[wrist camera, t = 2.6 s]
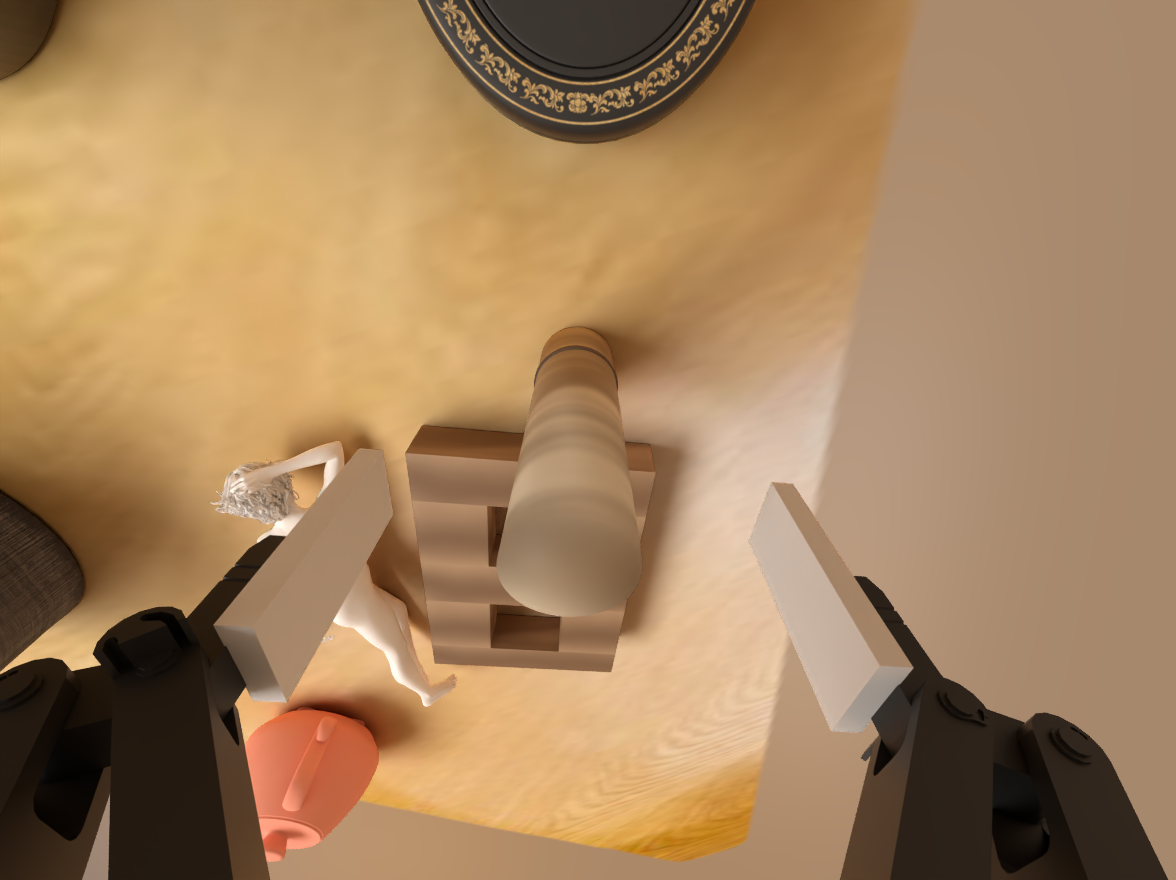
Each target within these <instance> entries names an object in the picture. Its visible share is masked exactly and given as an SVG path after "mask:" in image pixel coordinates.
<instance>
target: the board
mask: <svg viewBox="0 0 1176 880" xmlns="http://www.w3.org/2000/svg"><path fill="white" fill-rule="evenodd" d="M523 437H524V434H520V433H507V432H495V431H483V430H470V429H458V428H446V427H433V426H421V428H420V430H419V431H418V433H417V435H416V436H415V438H414V439H413V441H412V443H411V444H410V446H409V448H408V449H407V451H406V453H405V455H406V462H407V469H408V476H409V484H410V491H411V498H412V505H413V512H414V519H415V526H416V533H417V541H418V548H419V555H420V562H421V569H422V576H423V583H424V590H425V598H426V605H427V612H428V619H429V626H430V633H431V640H432V647H433V655H434V662H435V663H436V664H456V665H476V666H497V667H517V668H537V669H557V670H578V671H598V672H611V670H612V666H613V661H614V657H615V653H616V648H617V644H618V639H619V635H620V630H621V626H622V621H623V617H624V613H625V608H626V604H627V599H628V598H626V599H625V600H624V601H623V602H621V603H620V604H618V605H616V606H615V607H613V608H610V609H608V610H606V611H603V612H600V613H596V614H592V615H587V616H578V617H562V616H560V618H553V617H536V616H518V615H500V614H497V604H498V605H515V606H524V605H523V604H521V603H519V602H518V601H516V600H515V599H514V598H513V597H512V596H511V595H510V594H509V593H508V592H507V591H506V590H505V589H504V587H503V586H502V584H501V582H500V580H499V577H498V574H497V567H496V565H497V557H498V552H499V547H500V543H501V538H502V535H501V534H496V507H508V506H509V502H510V497H511V492H512V488H513V483H514V479H515V474H516V470H517V465H518V460H519V456H520V451H521V447H522V442H523ZM625 447H626V454H627V460H628V467H629V474H630V481H631V488H632V494H633V501H634V508H635V515H636V522H637V528H638V535H639V542H640V541H641V537H642V533H643V528H644V524H645V519H646V515H647V510H648V506H649V501H650V497H651V493H652V488H653V484H654V479H655V475H656V470H655V466H654V462H653V457H652V453H651V449H650V444H643V443H630V442H625Z"/></svg>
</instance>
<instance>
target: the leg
mask: <svg viewBox="0 0 1176 880" xmlns="http://www.w3.org/2000/svg"><path fill="white" fill-rule="evenodd" d="M617 391H618V381H617V376H616V372H615V370H614V365H613V358H612V353H611V350H610V347H609V345H608V344H607V342H606V341H605V340H604V338H603V337H602V336H600V335H599V334H598V333H596V332H595V331H593V330H590V329H587V328H583V327H570V328H565V329H563V330H560V331H559V332H557V333H555V334H554V335H553V336H552V337H551V338H550V339H549V340H548V341H547V342H546V344H545V346H544V348H543V351H542V355H541V360H540V364H539V367H538V369H537V371H536V375H535V380H534V392H533V396H532V401H531V405H530V410H529V415H528V419H527V424H526V428H525V433H524V437H523V442H522V447H521V451H520V456H519V460H518V465H517V470H516V474H515V479H514V483H513V488H512V492H511V497H510V502H509V506H508V511H507V515H506V520H505V525H504V529H503V534H502V538H501V543H500V547H499V552H498V557H497V565H496V567H497V574H498V577H499V580H500V582H501V584H502V586H503V587H504V589H505V590H506V591H507V592H508V593H509V594H510V595H511V596H512V597H513V598H514V599H515V600H516V601H518V602H519V603H521V604H523V605H524V606H526V607H528V608H530V609H533V610H535V611H538V612H541V613H545V614H549V615H554V616H562V617H578V616H587V615H592V614H596V613H600V612H603V611H606V610H608V609H610V608H613V607H615V606H616V605H618V604H620V603H621V602H623V601H624V600H625V599H626V598H628V597H629V596H630V595H631V594H632V593H633V591H634V590H635V589H636V587H637V585H638V583H639V582H640V579H641V576H642V570H643V563H642V556H641V549H640V542H639V535H638V528H637V522H636V515H635V508H634V501H633V494H632V488H631V481H630V474H629V467H628V460H627V454H626V447H625V440H624V433H623V426H622V420H621V413H620V406H619V399H618V392H617Z"/></svg>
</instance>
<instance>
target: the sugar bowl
mask: <svg viewBox="0 0 1176 880" xmlns="http://www.w3.org/2000/svg"><path fill="white" fill-rule="evenodd" d="M364 726H365V723H364V722H363V721H362V720H359V719H355V718H351V719H350V718H348V717H345V716H342V715H339V714H335V713H331V712H326V711H318V710H314V709H312V708H309V707H299V708H298V709H297V711H291V712H287V713H284V714H282V715H280V716H278V717H276V718H274V719H272V720H270V721H269V722H267V723H265V724H264V725H262V726H261V727H259V728H258V729H257V730H256V731H255V732H254V733H253V734H252V735H251V736H250V737H249V739H248V741H247V743H246V745H245V750H246V755H247V760H248V766H249V771H250V776H251V781H252V787H253V792H254V797H255V803H256V808H257V813H258V818H259V824H260V829H261V834H262V840H263V845H264V850H265V855H266V861H279V860H282V859H284V856H285V853H286V849H301V848H307V847H311V846H314V845H316V844H317V843H319V842H320V841H321V840H323V839H324V838H325V837H326V836H327V835H328V834H329V833H330V832H331V831H332V830H333V829H334V828H335V827H336V826H337V825H338V824H339V823H340V822H341V821H342V819H343V818H344V817H345V816H346V815H347V814H348V813H349V812H350V810H351V809H352V808H353V807H354V806H355V805H356V803H357V802H358V801H359V799H360V798H361V796H362V795H363V794H364V792H365V790H366V788H367V787H368V785H369V783H370V781H371V779H372V777H373V775H374V773H375V771H376V768H377V765H378V761H379V754H378V750H377V746H376V743H375V741H374V739H373V736H372V734H371V733H370V731H369V730H368V729H367V728H366V727H364Z"/></svg>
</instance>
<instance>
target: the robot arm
mask: <svg viewBox="0 0 1176 880" xmlns="http://www.w3.org/2000/svg"><path fill="white" fill-rule="evenodd" d="M56 2H57V0H0V79H3V78H5V77H7V76H8V75H10V74H12V73H14V72H15V71H17V70H18V69H19V68H21V67H22V66H23V65H24V64H25V63H26V62H27V61H28V60H30V59H31V57H32V56H33V55H34V54H35V52H36V51H37V50H38V48H39V47H40V45H41V43H42V42H43V40H44V39H45V36H46V34H47V32H48V30H49V27H50V25H51V22H52V18H53V15H54V12H55V7H56ZM392 516H393V509H392V502H391V496H390V490H389V484H388V478H387V472H386V466H385V460H384V454H383V450H376V449H364V448H359V449H358V450H357V451H356V453H355V454H354V455H353V456H352V457H351V459H350V460H349V461H348V462H347V463H346V465H345V466H344V467H343V468H342V469H341V471H340V472H339V473H338V474H337V476H336V477H335V478H334V479H333V480H332V482H331V483H330V484H329V485H328V486H327V488H326V489H325V490H324V491H323V493H322V494H321V495H320V496H319V497H318V499H317V500H316V501H315V502H314V503H313V505H312V506H311V507H310V508H309V510H308V511H307V512H306V513H305V514H304V516H303V517H302V518H301V519H300V520H299V522H298V523H297V524H296V525H295V527H294V528H293V529H292V530H291V531H290V533H289V534H288V535H287V536H277V535H269V536H267V537H266V538H264V539H263V540H261V541H260V542H258V543H257V544H255V545H254V546H252V547H251V548H249V549H248V550H247V551H246V553H245V554H244V555H243V556H242V557H241V558H240V559H239V560H238V562H237V563H236V564H235V567H232V568H231V569H230V570H229V572H228V573H227V574H226V575H225V576H224V577H223V580H222V581H220V582H219V583H218V584H217V585H216V586H215V587H214V588H213V589H212V591H211V592H210V593H209V594H208V595H207V596H206V597H205V598H204V599H203V601H202V602H201V603H200V604H199V605H198V606H197V607H196V608H195V609H194V611H193V612H192V613H191V614H190V615H189V616H188V617H187V618H185V616H184V614H183V612H182V611H181V610H179V609H176V608H174V607H156V608H152V609H148V610H144V611H141V612H138V613H136V614H134V615H132V616H130V617H128V618H126V619H123V620H122V621H121V622H119V623H118V624H116V625H115V626H114V627H112V628H111V629H109V630H108V631H107V632H106V633H105V634H104V635H103V637H102V638H101V639H100V640H99V641H98V642H97V644H96V647H95V649H94V652H93V655H94V656H95V658H96V659H97V660H98V661H99V663H100V664H101V665H100V666H95V667H90V668H85V669H80V670H75V671H71V670H70V669H69V667H68V666H67V665H66V664H65V663H64V662H63V660H59V659H54V658H45V659H39V660H33V661H30V662H27V663H24V664H21V665H19V666H16V667H13V668H11V669H10V670H8V671H6V672H4V673H2V674H0V880H82V878H83V875H84V872H85V869H86V866H87V862H88V860H89V856H90V853H91V850H92V847H93V844H94V841H95V838H96V835H97V832H98V828H99V825H100V822H101V819H102V816H103V813H104V810H105V807H106V804H107V801H108V798H109V795H110V828H109V829H110V830H109V871H108V880H270V876H269V871H268V867H267V861H266V855H265V850H264V845H263V840H262V834H261V829H260V824H259V818H258V813H257V808H256V803H255V797H254V792H253V787H252V781H251V776H250V771H249V766H248V760H247V755H246V750H245V744H244V739H243V734H242V729H241V723H240V718H239V713H238V709H237V707H236V706H235V702H236V701H237V699H238V697H239V696H240V694H241V693H242V691H243V690H244V688H245V687H246V688H247V690H248V692H249V694H250V696H251V698H252V700H253V701H268V702H288V700H289V698H290V696H291V694H292V693H293V691H294V689H295V687H296V686H297V684H298V682H299V680H300V679H301V677H302V675H303V673H304V671H305V670H306V668H307V666H308V664H309V663H310V661H311V659H312V657H313V656H314V654H315V652H316V650H317V648H318V647H319V645H320V643H321V641H322V640H323V638H324V636H325V634H326V633H327V631H328V629H329V627H330V626H331V624H332V622H333V620H334V618H335V617H336V615H337V613H338V611H339V610H340V608H341V606H342V604H343V603H344V601H345V599H346V597H347V595H348V594H349V592H350V590H351V588H352V587H353V585H354V583H355V581H356V580H357V578H358V576H359V574H360V572H361V571H362V569H363V567H364V565H365V564H366V562H367V560H368V558H369V557H370V555H371V553H372V551H373V549H374V548H375V546H376V544H377V542H378V541H379V539H380V537H381V535H382V534H383V532H384V530H385V528H386V526H387V525H388V523H389V521H390V519H391V518H392ZM749 543H750V546H751V548H752V550H753V553H754V555H755V557H756V559H757V562H758V564H759V566H760V569H761V571H762V573H763V576H764V578H765V580H766V582H767V585H768V587H769V589H770V592H771V594H772V596H773V599H774V601H775V603H776V605H777V608H778V610H779V612H780V615H781V617H782V619H783V622H784V624H785V626H786V628H787V631H788V633H789V635H790V638H791V640H792V642H793V645H794V647H795V649H796V651H797V654H798V656H799V658H800V660H801V663H802V665H803V667H804V670H805V672H806V674H807V677H808V679H809V681H810V684H811V686H812V688H813V690H814V693H815V695H816V697H817V700H818V702H819V704H820V706H821V709H822V711H823V713H824V716H825V718H826V720H827V723H828V725H829V727H830V730H831V731H838V732H858V733H861V732H862V731H863V729H864V728H865V727H866V726H867V724H868V723H869V722H870V721H871V720H872V721H873V723H874V725H875V727H876V729H877V731H878V733H879V736H878V737H877V738H876V739H875V740H874V742H873V743H872V744H871V745H870V746H869V747H868V749H867V750H866V751H865V752H864V754H863V755H862V757H861V758H862V759H863V760H864V761H866V760H867V759H868V758H869V757H870V756H871V757H870V761H869V765H868V769H867V773H866V777H865V781H864V785H863V789H862V793H861V797H860V801H859V805H858V809H857V813H856V817H855V821H854V825H853V829H852V833H851V837H850V841H849V845H848V849H847V853H846V858H845V862H844V865H843V870H842V873H841V878H840V880H1168V878H1167V876H1166V874H1165V872H1164V870H1163V868H1162V866H1161V864H1160V862H1159V860H1158V858H1157V856H1156V854H1155V852H1154V850H1153V848H1152V845H1151V843H1150V841H1149V840H1148V837H1147V835H1146V833H1145V831H1144V829H1143V827H1142V825H1141V823H1140V821H1139V819H1138V817H1137V815H1136V813H1135V810H1134V809H1133V806H1132V804H1131V802H1130V800H1129V798H1128V796H1127V794H1126V792H1125V790H1124V788H1123V786H1122V784H1121V782H1120V780H1119V778H1118V776H1117V774H1116V771H1115V769H1114V767H1113V765H1112V763H1111V761H1110V760H1109V758H1108V757H1107V755H1106V754H1105V753H1104V751H1103V750H1102V749H1101V747H1100V746H1099V745H1098V744H1097V743H1096V742H1095V741H1094V740H1092V738H1091V737H1090V736H1089V735H1087V734H1086V733H1085V732H1083V731H1082V730H1081V729H1079V728H1078V727H1077V726H1075V725H1074V724H1072V723H1070V722H1068V721H1066V720H1064V719H1063V718H1061V717H1059V716H1055V715H1052V714H1048V713H1036V714H1035V715H1034V716H1033V717H1031V718H1030V719H1029V720H1028V721H1027V722H1026V723H1024V722H1022V721H1019V720H1016V719H1013V718H1010V717H1007V716H1004V715H1002V714H999V713H996V712H993V711H990V710H987V709H986V708H985V706H984V704H982V702H981V701H979V699H977V697H976V696H974V694H973V693H971V692H970V691H968V690H967V689H966V688H964V687H963V686H961V685H960V684H958V683H956V682H953V681H951V680H949V679H946V678H943V677H942V675H941V674H940V673H939V671H938V670H937V669H936V667H935V666H934V664H933V663H932V661H931V660H930V659H929V657H928V656H927V654H926V653H925V651H924V650H923V648H922V647H921V646H920V644H919V643H918V641H917V640H916V638H915V637H914V636H913V634H912V633H911V631H910V630H909V628H908V627H907V626H906V625H904V624H903V622H904V621H903V620H902V618H901V617H900V616H899V614H898V613H897V611H894V607H893V606H892V604H891V603H890V602H889V600H888V599H887V597H886V596H885V594H884V593H883V591H881V590H880V589H879V588H878V587H877V586H876V585H875V584H873V583H872V582H871V581H870V580H869V579H868V578H867V577H862V576H853V575H852V573H851V572H850V570H849V569H848V567H847V566H846V564H845V562H844V561H843V560H842V558H841V556H840V555H839V553H838V552H837V550H836V549H835V548H834V546H833V544H832V543H831V541H830V540H829V538H828V537H827V535H826V534H825V532H824V531H823V529H822V528H821V526H820V524H819V523H818V521H817V520H816V518H815V517H814V515H813V514H812V512H811V511H810V509H809V508H808V506H807V505H806V503H805V502H804V500H803V498H802V497H801V495H800V494H799V492H798V491H797V489H796V488H795V486H794V485H793V484H787V483H775V482H771V484H770V487H769V490H768V492H767V495H766V497H765V500H764V502H763V505H762V508H761V510H760V513H759V515H758V518H757V520H756V523H755V525H754V528H753V531H752V533H751V536H750V538H749Z"/></svg>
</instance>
